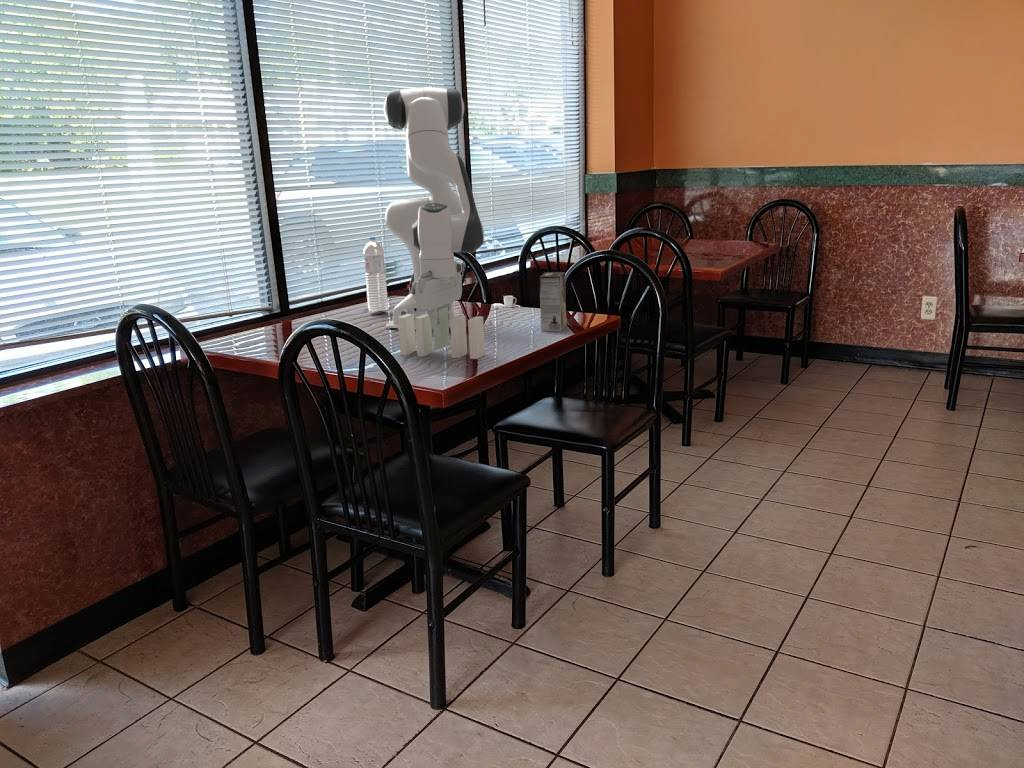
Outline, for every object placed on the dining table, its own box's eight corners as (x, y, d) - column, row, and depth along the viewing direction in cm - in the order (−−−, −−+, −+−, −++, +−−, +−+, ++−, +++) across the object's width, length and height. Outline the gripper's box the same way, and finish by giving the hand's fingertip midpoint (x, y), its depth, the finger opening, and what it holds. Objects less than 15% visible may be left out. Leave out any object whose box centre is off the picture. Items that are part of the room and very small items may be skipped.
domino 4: (452, 357, 213) (450, 319, 210) (460, 353, 217) (458, 315, 215) (459, 358, 212) (457, 319, 209) (467, 353, 216) (465, 315, 214)
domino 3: (434, 347, 214) (432, 309, 211) (442, 343, 218) (440, 306, 216) (441, 348, 213) (439, 309, 210) (449, 344, 217) (447, 306, 215)
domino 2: (417, 355, 216) (415, 317, 214) (426, 351, 221) (423, 314, 218) (424, 356, 216) (421, 318, 213) (432, 351, 220) (430, 314, 217)
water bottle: (386, 312, 280) (380, 237, 274) (366, 312, 281) (360, 238, 274) (389, 308, 287) (384, 235, 280) (370, 309, 287) (364, 236, 281)
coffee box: (545, 325, 249) (544, 271, 245) (566, 325, 248) (565, 271, 243) (540, 331, 240) (539, 276, 236) (562, 331, 239) (561, 276, 235)
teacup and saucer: (491, 310, 279) (490, 298, 277) (499, 306, 286) (498, 294, 285) (516, 310, 276) (515, 298, 275) (523, 306, 283) (523, 294, 282)
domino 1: (400, 354, 218) (397, 317, 215) (409, 350, 223) (407, 313, 220) (407, 355, 217) (404, 317, 215) (416, 350, 222) (413, 314, 219)
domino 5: (470, 358, 211) (467, 320, 208) (477, 354, 215) (475, 316, 213) (477, 359, 210) (475, 320, 208) (484, 354, 215) (483, 316, 212)
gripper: (430, 274, 200) (433, 331, 204) (465, 264, 218) (467, 316, 222) (406, 274, 202) (410, 330, 206) (443, 264, 221) (446, 315, 224)
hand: (440, 322), depth 214 cm, fingers closed on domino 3, 5 cm apart
